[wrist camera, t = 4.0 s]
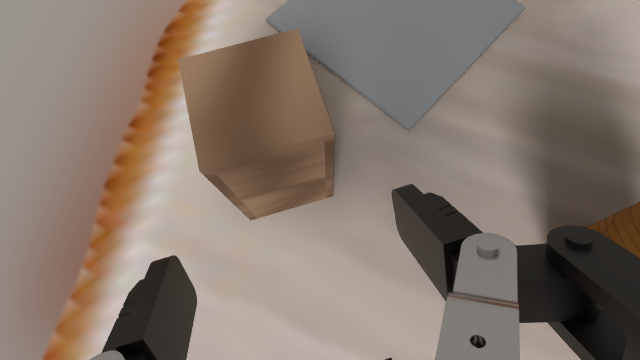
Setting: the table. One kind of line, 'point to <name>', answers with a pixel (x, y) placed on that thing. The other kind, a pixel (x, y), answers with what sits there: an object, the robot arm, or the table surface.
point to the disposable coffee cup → (622, 228)
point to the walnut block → (260, 124)
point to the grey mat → (397, 44)
